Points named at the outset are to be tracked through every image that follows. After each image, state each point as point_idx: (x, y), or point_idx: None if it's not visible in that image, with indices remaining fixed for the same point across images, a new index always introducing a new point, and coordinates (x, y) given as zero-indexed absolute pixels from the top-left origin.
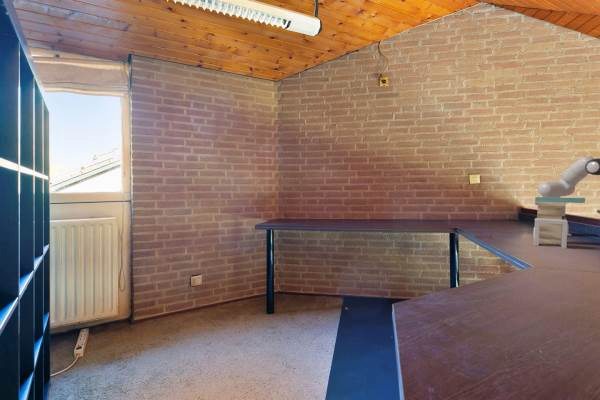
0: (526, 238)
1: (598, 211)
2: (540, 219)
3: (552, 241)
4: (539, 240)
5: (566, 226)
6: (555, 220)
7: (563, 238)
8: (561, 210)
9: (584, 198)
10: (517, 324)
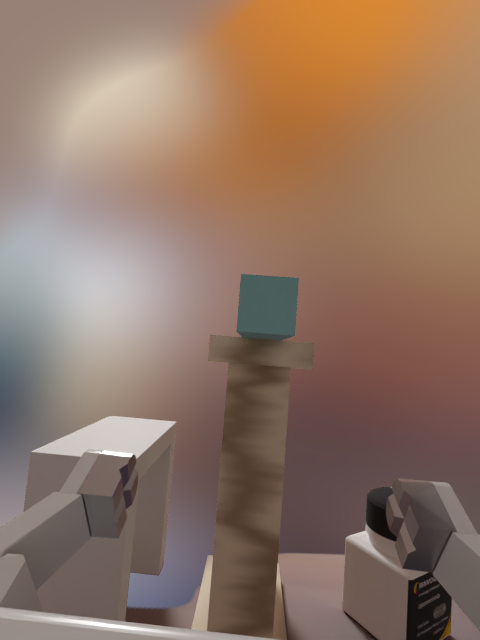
0: (311, 561)
1: (394, 507)
2: (117, 421)
3: (194, 619)
4: (204, 573)
5: (29, 492)
6: (74, 435)
7: None
8: (226, 398)
9: (241, 279)
10: None
